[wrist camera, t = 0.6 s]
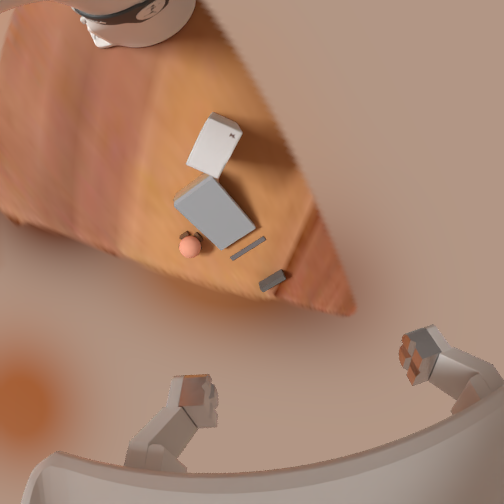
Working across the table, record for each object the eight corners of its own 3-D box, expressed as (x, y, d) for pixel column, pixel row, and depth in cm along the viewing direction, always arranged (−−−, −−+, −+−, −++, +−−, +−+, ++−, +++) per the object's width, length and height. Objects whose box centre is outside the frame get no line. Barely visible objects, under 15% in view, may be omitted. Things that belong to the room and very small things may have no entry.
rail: (258, 282, 53) (260, 289, 52) (281, 269, 52) (283, 275, 51) (261, 285, 54) (263, 292, 52) (283, 272, 53) (286, 279, 51)
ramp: (175, 193, 43) (171, 203, 39) (211, 167, 41) (210, 175, 37) (221, 246, 48) (221, 260, 45) (254, 224, 47) (258, 237, 43)
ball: (176, 239, 47) (173, 250, 44) (192, 228, 46) (190, 238, 43) (189, 254, 49) (187, 265, 45) (205, 243, 48) (204, 254, 45)
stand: (174, 239, 47) (174, 241, 46) (192, 226, 46) (192, 228, 45) (189, 255, 49) (189, 257, 48) (207, 243, 48) (207, 245, 47)
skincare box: (211, 111, 37) (208, 115, 26) (237, 123, 38) (244, 132, 28) (193, 146, 39) (184, 165, 29) (219, 158, 41) (219, 180, 30)
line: (230, 257, 50) (230, 257, 50) (263, 236, 48) (263, 236, 48) (232, 260, 50) (232, 260, 50) (265, 239, 49) (265, 239, 49)
